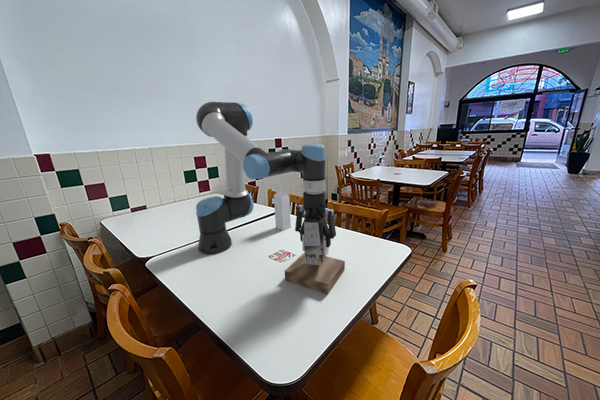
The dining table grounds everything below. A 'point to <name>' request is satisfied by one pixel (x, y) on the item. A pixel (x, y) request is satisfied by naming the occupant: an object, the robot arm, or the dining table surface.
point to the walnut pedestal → (315, 273)
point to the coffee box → (313, 241)
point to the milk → (282, 210)
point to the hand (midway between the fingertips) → (315, 251)
